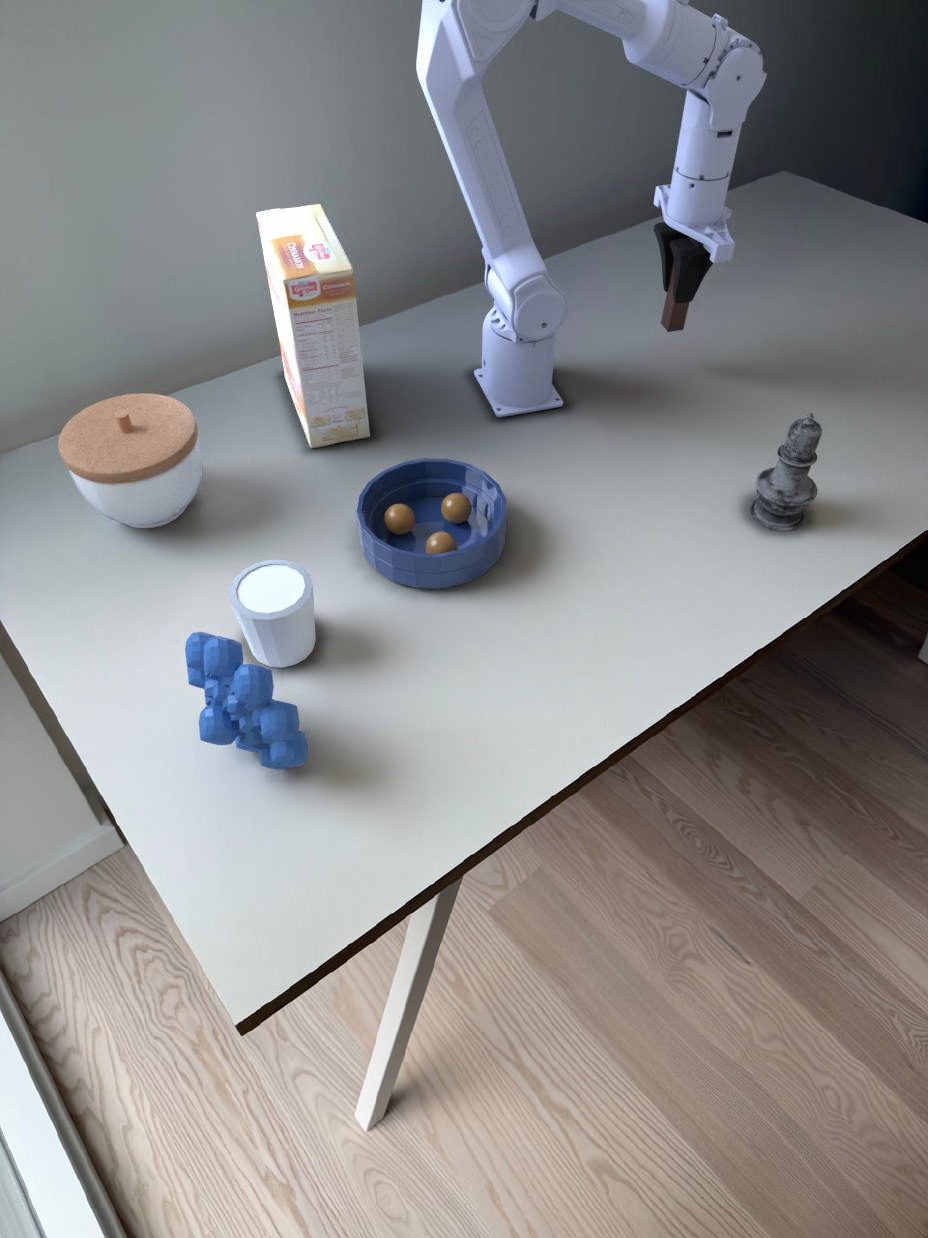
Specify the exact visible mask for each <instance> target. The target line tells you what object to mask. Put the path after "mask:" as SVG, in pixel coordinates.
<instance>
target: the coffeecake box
mask: <svg viewBox="0 0 928 1238" xmlns="http://www.w3.org/2000/svg"><path fill="white" fill-rule="evenodd" d="M255 215H256V221H257V223H258V224H257V225H258V230H259V237H260V240H261V246H262V252H263V258H264V265H265V269H266V274H267V275H266V276H267V280H268V287H269V291H270V297H271V302H272V307H273V313H274V319H275V324H276V330H277V336H278V342H279V348H280V354H281V359H282V365H283V371H284V378H285V381H286V384H287V388H288V390H289V392H290V396H291V398H292V401H293V404H294V407H295V410H296V413H297V415H298V419H299V421H300V423H301V426H302V429H303V432H304V434H305V437H306V440H307V442H308V445H309V448H310V449H315V448H321V447H325V446H330V445H334V444H338V443H342V442H343V443H344V442H350V441H355V440H356V441H357V440H360V439H361V440H362V439H366V438H369V437H371V432H370V422H369V412H368V402H367V392H366V384H365V373H364V371H365V370H364V363H363V352H362V343H361V334H360V333H361V331H360V323H359V314H358V305H357V295H356V293H357V292H356V284H355V283H356V282H355V272H354V268H353V266H352V264H351V261H350V260H349V258H348V256H347V253H346V252H345V250H344V247H343V245H342V244H341V242H340V240H339V238H338V236H337V234H336V232H335V230H334V228H333V226H332V224H331V222H330V220H329V219H328V216H327V214H326V212H325V210H324V209H323V206H322V205H321V204H320V203H316V204H309V205H303V206H297V207H288V208H272V209H266V210H262V211H257V212H256V213H255Z"/></svg>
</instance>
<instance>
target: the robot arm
mask: <svg viewBox="0 0 928 1238" xmlns="http://www.w3.org/2000/svg"><path fill="white" fill-rule="evenodd" d="M689 2H690V0H422V3H421V12H420V13H421V14H420V23H419V32H418V33H419V35H418V42H417V51H416V52H417V53H416V62H415V63H416V64H415V66H416V67H415V69H416V74H417V75H416V76H417V79H418V81H419V85H420V87H421V89H422V92H423V95H424V98H425V99H426V102H427V105H428V107H429V110H430V112H431V115H432V118H433V121H434V123H435V125H436V128H437V131H438V133H439V136H440V138H441V141H442V144H443V147H444V149H445V151H446V154H447V157H448V160H449V162H450V164H451V167H452V170H453V172H454V174H455V177H456V180H457V182H458V185H459V187H460V190H461V192H462V196H463V199H464V201H465V204H466V206H467V208H468V211H469V213H470V216H471V218H472V221H473V224H474V226H475V229H476V231H477V234H478V236H479V238H480V242H481V245H482V248H481V254H482V256H483V259H484V264H485V271H484V285H485V288H486V291H487V292H488V294H489V295H490V296H491V298H492V299H494V300H493V307H492V308H491V309H490V310H489V311H488V313H487V314H486V316H485V317H484V320H483V323H482V334H481V335H482V340H481V341H482V344H481V368H476V369H474V370H473V375H474V377H475V378H476V380H477V382H478V384H479V386H480V388H481V390H482V392H483V394H484V396H485V398H486V400H487V401H488V403H489V406H490V407H491V409H492V410H493V413H494V415H495V416H496V417H498V418H506V417H509V416H511V417H512V416H516V415H521V414H528V413H534V412H539V411H545V410H551V409H556V408H560V407H563V405H564V401H563V399H562V397H561V396H560V394H559V393H558V391H557V389H556V388H555V386H554V385H553V373H554V371H553V370H554V362H555V361H554V360H555V351H556V350H555V349H556V339H557V338H556V337H557V331H558V330H559V329H560V328H561V327H562V326H563V324H564V322H565V320H566V319H567V315H568V311H569V302H568V298H567V295H566V294H565V293H566V292H564V291H563V289H562V288H560V287H559V286H558V284H556V283H555V281H554V280H553V278H552V277H551V276H550V273H549V270H548V268H547V266H546V263H545V262H544V260H543V258H542V256H541V254H540V252H539V250H538V248H537V246H536V244H535V242H534V239H533V237H532V234H531V230H530V227H529V225H528V222H527V219H526V216H525V213H524V210H523V206H522V205H521V200H520V198H519V195H518V192H517V189H516V186H515V183H514V180H513V177H512V174H511V171H510V167H509V165H508V162H507V159H506V156H505V154H504V151H503V148H502V145H501V142H500V139H499V135H498V133H497V132H498V131H497V129H496V127H495V123H494V121H493V117H492V114H491V111H490V109H489V106H488V103H487V100H486V97H485V93H484V91H483V88H482V84H481V83H482V80H483V78H484V75H485V73H486V71H487V70H488V68H489V66H490V64H491V62H492V61H493V60H494V58H495V57H496V56H497V55H498V54H499V53H500V52H501V51H502V49H503V48H504V47H505V46H506V45H507V44H508V42H509V41H510V40H511V39H512V38H513V37H514V36H515V35H516V33H517V32H518V31H519V30H520V29H521V28H522V27H523V25H524V24H525V22H526V20H527V19H528V18H530V19H531V20H532V21H533V22H534V23H538V22H541V21H543V20H544V19H545V18H547V17H548V16H549V15H551V14H552V13H554V12H555V11H559V12H562V13H564V14H566V15H569V16H571V17H573V18H575V19H578V20H580V21H582V22H584V23H586V24H589V25H591V26H592V27H596V28H597V29H599V30H601V31H604V32H606V33H608V34H611V35H613V36H615V37H617V38H620V39H621V42H622V45H623V50H624V54H625V57H626V59H627V61H628V62H629V63H631V64H633V65H635V66H637V67H639V68H641V69H643V70H644V71H647V72H649V73H651V74H652V75H655V76H657V77H660V78H661V79H663V80H665V81H667V82H669V83H671V84H674V85H675V86H677V87H679V88H681V89H686V93H685V100H684V106H683V113H682V117H681V125H680V130H679V136H678V142H677V147H676V153H675V159H674V164H673V165H674V166H673V170H672V175H671V182H670V184H663V185H657V186H655V190H654V191H655V192H654V198H653V205H654V206H655V207H656V208H661V212H662V218H663V221H662V222H657V223H655V224H654V226H653V232H654V235H655V237H656V241H657V244H658V249H659V251H660V261H661V274H662V287H663V291H664V292H665V293H667V291H668V286H669V281H670V276H671V271H672V266H673V261H674V284H673V301H674V302H675V303H677V304H678V303H684V302H693V301H694V299H695V296H696V295H697V292H698V290H699V288H700V286H701V284H702V282H703V280H704V278H705V277H706V275H707V273H708V272H709V270H710V269H711V268H712V266H713V265H714V264H721V263H727V262H732V260H733V255H734V250H735V248H736V247H735V246H736V242H735V241H734V240H733V238H732V237H731V234H730V231H729V229H728V225H727V221H726V220H729V219H731V216H732V210H731V209H730V208H729V207H728V206H726V205H725V203H726V199H727V193H728V190H729V185H730V180H731V175H732V171H733V167H734V162H735V157H736V153H737V149H738V144H739V139H740V135H741V130H742V125H743V123H744V122H746V118H747V114H748V109H749V107H750V105H751V104H752V102H753V101H754V100H755V99H756V97H757V96H758V95H759V93H760V92H761V90H762V88H763V87H764V84H765V82H766V79H767V76H768V75H767V72H765V71H764V70H763V69H764V58H763V54H762V53H761V51H762V49H760V46H758V45H757V43H756V42H754V41H753V40H751V39H749V38H748V37H746V36H744V35H743V34H742V33H739V32H737V30H734V29H733V28H731V27H730V26H728V24H729V20H728V19H727V18H724V16H721V15H719V14H718V13H715V14H713V16H712V17H710V16H709V15H707V14H705V13H704V12H701V11H700V10H698V9H696V8H694V7H693V6H691V5H689V4H688V3H689ZM682 238H689V239H682ZM678 239H681V240H678Z"/></svg>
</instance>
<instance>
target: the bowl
mask: <svg viewBox="0 0 928 1238" xmlns="http://www.w3.org/2000/svg"><path fill="white" fill-rule="evenodd" d="M452 493H461V494H463V495H465V496H466V497H467V498H468V499H469V500H470V502H471V506H472V511H471V514H470V516H469V518H468V519H467V520H466V521H464V522H463V523H459V524H454V523H450V522H448V521H447V520H446V519H445V518H444V517H443V515H442V512H441V505H442V502H443V500H444V499H445V498H446V497H447V496H448V495H450V494H452ZM395 504H404V505H406V506H408V507H409V508H411V510H412V511H413V513H414V516H415V523H414V526H413V528H412V529H411V530H410V531H409V532H408V533H406V534H403V535H396V534H393V533H391V532H390V531H389V530H388V529H387V528H386V526H385V524H384V515H385V512H386V511H387V509H388V508H389V507H391V506H392V505H395ZM355 512H356V513H355V514H356V521H357V528H358V529H357V531H358V537H359V544H360V548H361V550H362V554H363V557H364V559H365V560H366V561H367V562H368V563H369V565H370V566H371V567H372V568H373V569H374V571H375V572H377V573H379V574H380V575H382V576H384V577H385V578H387V579H389V580H391V581H392V582H395V583H397V584H401V585H405V586H409V587H412V588H417V589H445V588H450V587H454V586H455V587H456V586H459V585H464V584H466V583H468V582H471V581H472V580H474V579H476V578H478V577H480V576H482V575H484V574H485V573H486V572H487V571H488V570H489V569H490V568H491V567H493V566H494V565H495V564H496V562H498V561H499V559H500V557H501V554H502V552H503V550H504V548H505V545H506V532H507V531H506V530H507V497H506V496H505V494H504V492H503V490H502V488H501V486H500V484H499V483H498V482H497V481H496V480H495V479H494V478H492V476H491V475H490V474H488V473H487V472H486V471H484V470H482V469H479V468H478V467H476V466H474V465H471V464H469V463H468V462H463V461H459V460H454V459H449V458H420V459H419V458H418V459H414V460H408V461H403V462H400V463H397V464H396V465H393V466H390V467H388V468H386V469H383V470H382V471H380V472H379V473H378V474H377V475H376V476H374V477H373V478H371V479H370V480H369V481H368V482H367V483H366V485H365V486H364V487H363V489H362V491H361V492H360V494H359V495H358V497H357V505H356V511H355ZM436 532H447V533H449V534H451V535H452V536H453V537H454V538H455V540H456V542H457V547H458V549H457V550H456V551H451V552H446V553H441V554H427V553H426V542H427V540H428V538H429V537H430V536H431V535H432V534H434V533H436Z"/></svg>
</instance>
